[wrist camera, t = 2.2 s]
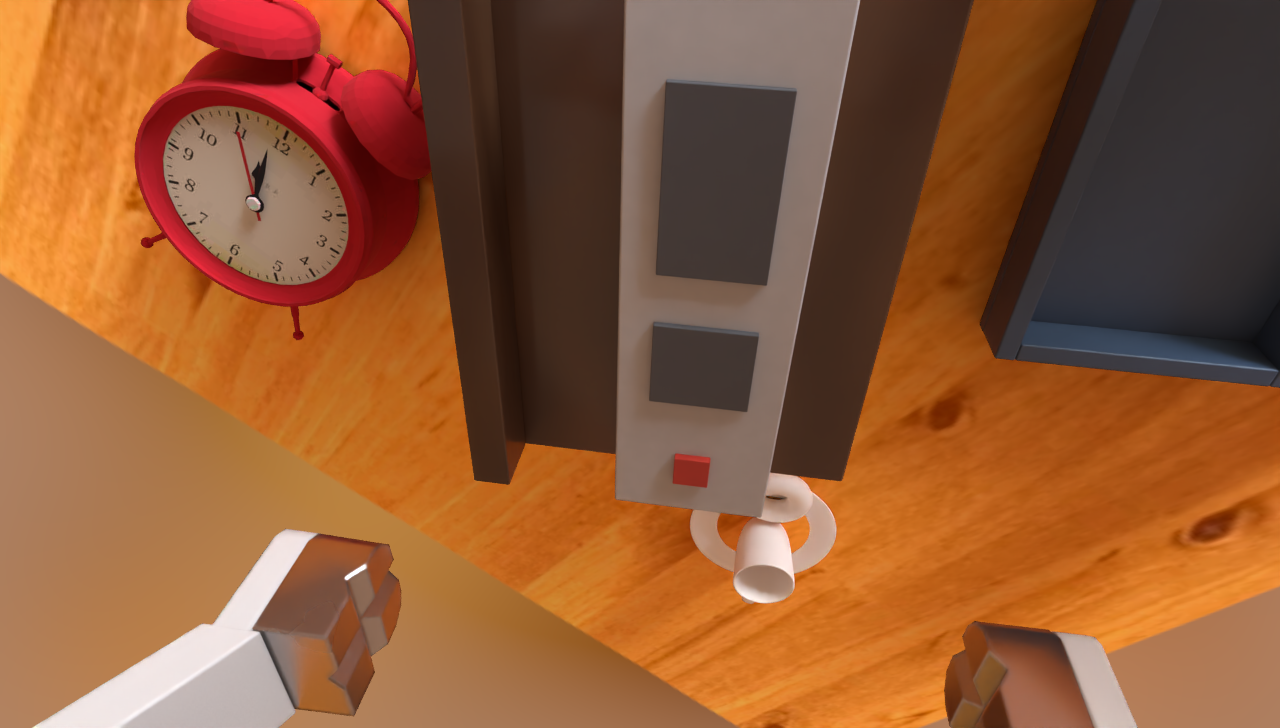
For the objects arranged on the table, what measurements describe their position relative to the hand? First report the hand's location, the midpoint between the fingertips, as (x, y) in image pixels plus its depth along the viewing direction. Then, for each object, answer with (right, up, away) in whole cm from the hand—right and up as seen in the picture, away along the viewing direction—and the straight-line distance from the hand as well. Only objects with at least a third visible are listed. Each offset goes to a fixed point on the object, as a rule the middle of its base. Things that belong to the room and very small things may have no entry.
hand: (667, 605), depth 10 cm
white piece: (+9, -5, +30) cm, 31 cm away
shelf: (+2, +13, +18) cm, 22 cm away
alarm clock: (-14, +13, +20) cm, 28 cm away
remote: (+2, +7, +9) cm, 12 cm away
